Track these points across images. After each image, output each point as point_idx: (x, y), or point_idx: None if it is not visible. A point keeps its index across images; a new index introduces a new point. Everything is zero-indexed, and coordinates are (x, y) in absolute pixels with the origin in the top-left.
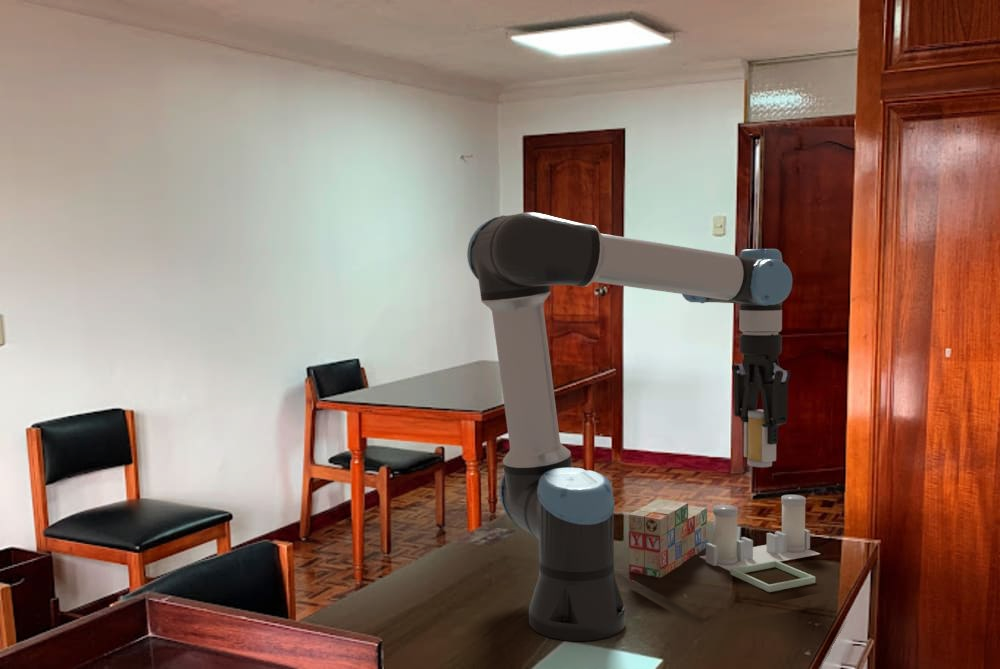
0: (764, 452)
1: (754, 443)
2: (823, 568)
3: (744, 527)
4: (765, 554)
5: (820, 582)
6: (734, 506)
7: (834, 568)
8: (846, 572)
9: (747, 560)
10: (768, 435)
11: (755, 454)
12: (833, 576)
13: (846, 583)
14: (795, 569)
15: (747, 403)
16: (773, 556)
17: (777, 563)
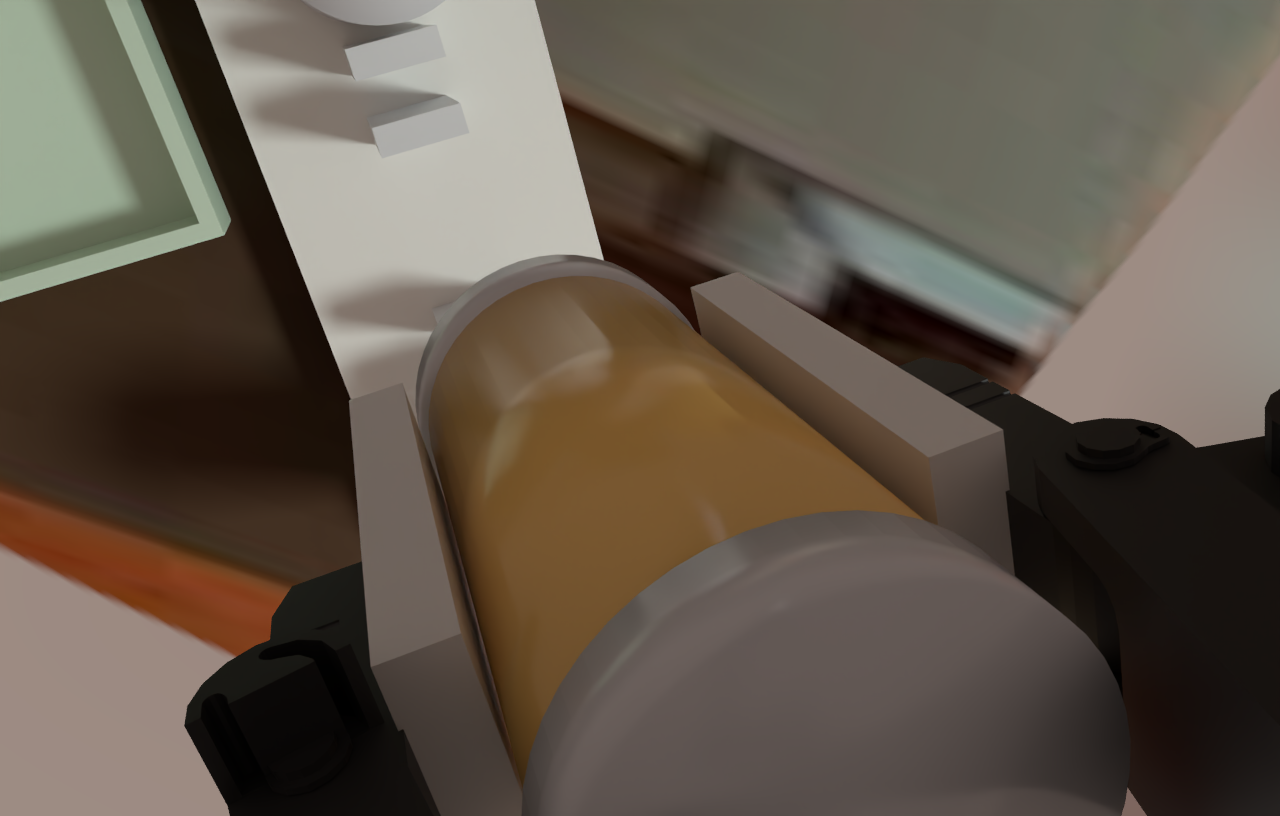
0: (355, 450)
1: (520, 387)
2: (298, 511)
3: (1020, 369)
4: (450, 257)
5: (54, 410)
6: (402, 14)
7: (292, 564)
8: (219, 598)
9: (351, 98)
10: (362, 639)
11: (480, 348)
12: (157, 513)
13: (29, 536)
14: (15, 283)
15: (1274, 728)
16: (404, 287)
17: (178, 229)
